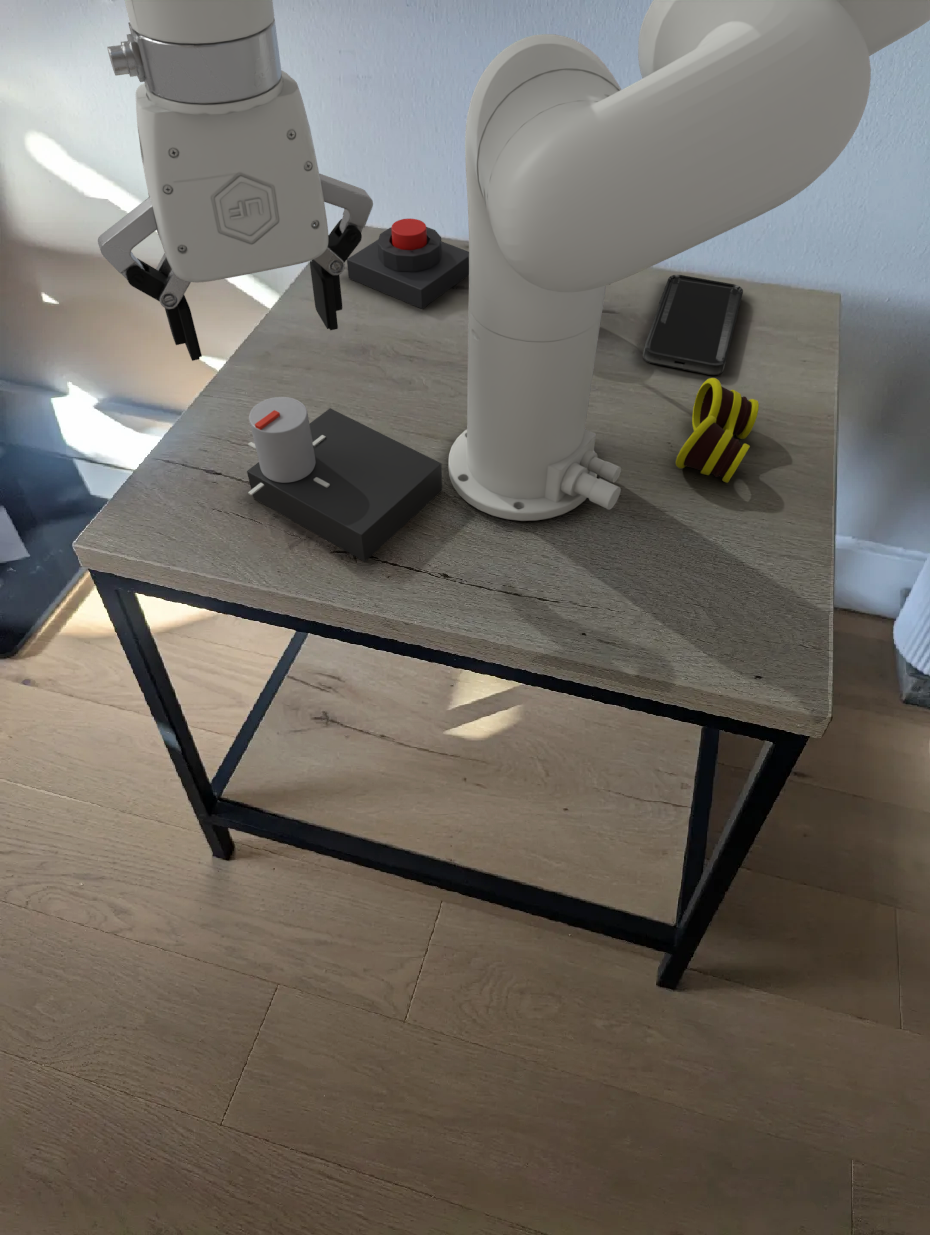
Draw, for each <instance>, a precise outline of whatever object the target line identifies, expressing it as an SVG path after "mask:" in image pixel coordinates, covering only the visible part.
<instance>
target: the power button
mask: <svg viewBox="0 0 930 1235" xmlns="http://www.w3.org/2000/svg"><path fill="white" fill-rule="evenodd" d="M426 227H427V225H426V223H425V222H424V221H422V220H421V219H418V218H401V219H398V220H396V221H394V222H393V223H392V224H391V227H390V228H391V229H392V244H393V246H394V247H396V248H399V249H401V250H415V249H420V248H423V247H424V246H426V244H427V231H426Z"/></svg>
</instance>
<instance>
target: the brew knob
mask: <svg viewBox="0 0 930 1235" xmlns="http://www.w3.org/2000/svg"><path fill="white" fill-rule="evenodd" d="M248 415H249V416H248V422H249V425H250V430H251V434H252V439H253V443H254V444H255V447H256V449H255V450H256V451H255V452H256V455H257V460H258V462H259V464H260V469H261V471H262V473H263V474H264V476H266V477H267V478H268V479H270V480H272V481H275V482H281V483H289V482H295V481H298V480H301V479H303V478H305V477H306V476H308V475H309V474H310V473H311V472H312V471H313V469H314V467H315V463H316V460H315V454H314V448H313V442H312V436H311V430H310V418H309V412H308V409H307V407H306V405H305V404H304V403H303V402H302V401H300V400H298V399H296V398H293V397H291V396H273V397H270V398H266V399H264V400H261V401H259V402H258V403H257V404H255V405H254V406H253V407H252V408H251V410H250V411H249V414H248Z"/></svg>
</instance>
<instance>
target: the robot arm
mask: <svg viewBox="0 0 930 1235" xmlns="http://www.w3.org/2000/svg"><path fill="white" fill-rule="evenodd" d="M124 4H125V8H126V13H127V18H128V27H129V32H130V33H128V34H126V39H127V40H126V41H120V44H118V45H111V46H107V52H108V57H109V60H110V64H111V67H112V71H113V73H114V76H125V75H129V77H130V78H133V77H134V78H135V77H137V79H138V81H139V83H142V84H139V86H138V87H137V88H136V90H135V111H136V112H135V113H136V122H137V124H136V125H137V126H136V127H137V133H138V139H139V140H138V141H139V148H140V155H141V156H140V157H141V162H142V168H143V173H144V179H145V184H146V190H147V195H148V197H146V198H145V200H143V201H142V202H140V204H138V205H137V206H136V207H135V208H133V209H132V210H131V211H129V212H128V213H127V214H125V215H124V216H123V217H121V218H120V219H119V220H117V222H115V223H114V224H113V225H111V226H110V227H109V228H107V230H105V231H104V232H103V233H101V234H100V235H99V236H98V238H97V245H98V248H99V251H100V253H101V255H102V256H103V258H104V259H106V261H108V262H109V264H110V265H111V266H112V267H114V269H115V270H116V271H117V272H118V273H119V274H120V275H122V276H123V277H124V278H125V279H126V280H127V283H128V284H129V285H130V286H131V287H133V289H136V290H138V291H140V292H141V293H143V294H145V295H147V296H149V297H151V298H152V299H153V300H156V301H158V302H159V303H160V305H161V307H162V308H164V310H165V314H166V318H167V321H168V325H169V329H170V333H171V336H172V338H173V342H174V344H175V346H180V345H184V344H185V347H186V350H187V353H188V354H189V357H190V360H191V361H192V362H194V361H198V360H200V358H202V356H203V355H202V351H201V346H200V343H199V338H198V335H197V331H196V327H195V323H194V319H193V315H192V312H191V308H190V305H189V303H188V300H187V298H186V295H185V293H186V292H187V290H188V288H189V287H190V285H191V283H197V284H198V283H209V282H214V281H220V280H225V279H230V278H231V279H232V278H236V277H241V276H246V275H251V274H257V273H262V272H267V271H271V270H277V269H281V268H286V267H287V268H288V267H291V266H292V267H293V266H296V265H300V264H301V265H302V264H304V263H309V269H310V276H311V284H312V285H311V286H312V293H313V299H314V300H313V301H314V308H315V311H316V312H317V314H318V316H319V318H320V319H321V321H322V323H323V324H324V326H325V328H326V330H329V331H335V330H338V328H339V325H338V324H339V323H338V316H337V312H338V311H342V310H343V299H342V298H343V297H342V288H341V278H340V275H341V274H342V273H344V271H345V268H346V264H345V263H346V262H347V259H348V258H350V257H351V256H352V253H353V252H354V251H355V250H356V249H357V247H358V245H359V244H361V241H362V238H363V235H362V233H363V230H364V229H365V227H366V225H367V222H368V220H369V217H370V215H371V212H372V210H373V207H374V200H373V199H372V198H371V196H370V194H369V193H368V192H367V191H366V190H365V189H364V188H361V187H358V186H355V185H353V184H351V183H347V182H344V181H342V180H339V179H337V178H333V177H331V176H328V175H325V174H322V173H320V170H319V165H318V160H317V154H316V150H315V149H316V148H315V145H314V141H313V135H312V131H311V127H310V122H309V119H308V115H307V111H306V107H305V104H304V101H303V100H304V99H303V97H302V94H301V90H300V88H299V84H298V82H297V80H295V79H294V78H293V77H291V75H289V73H287V72H285V71H284V70H282V64H281V58H280V50H279V42H278V35H277V34H278V33H277V26H276V19H275V10H274V2H273V0H124ZM929 21H930V0H652V1H651V3H650V5H649V7H648V9H647V11H646V13H645V15H644V17H643V19H642V23H641V25H640V30H639V34H638V43H637V44H638V45H637V58H638V59H637V60H638V67H639V71H640V74H641V79H638V80H637V81H635V82H634V83H631V84H629V85H628V86H626V87H624V88H621V86H620V84H619V83H618V81H617V80H616V77H615V76H614V75H613V73H612V72H611V70H610V69H609V68H608V66H607V65H606V63H604V61H603V60H602V59H601V58H600V57H599V56H598V55H597V54H596V53H595V52H594V51H593V50H591V49H589V47H587V46H586V45H584V44H583V43H581V42H579V41H577V40H576V39H574V38H571V37H568V36H565V35H560V34H554V33H540V34H533V35H530V36H525V37H523V38H521V39H519V40H516V41H514V42H512V43H511V44H509V45H508V46H507V47H505V48H503V50H501V51H500V52H499V53H497V55H496V56H495V57H494V58H493V59H492V60H491V61H490V62H489V64H488V65H487V66H486V68H484V70H483V72H482V73H481V75H480V77H479V79H478V81H477V83H476V85H475V87H474V90H473V92H472V95H471V98H470V101H469V106H468V110H467V113H466V114H467V115H466V121H465V122H466V123H465V130H464V131H465V133H464V162H465V180H466V181H465V183H466V198H467V199H466V200H467V202H466V203H467V219H468V220H467V221H468V252H469V275H468V306H467V307H468V308H467V311H468V312H467V313H468V314H467V315H468V316H467V319H468V320H467V393H466V394H467V395H466V396H467V401H466V402H467V403H466V404H467V405H466V406H467V407H466V408H467V409H466V410H467V412H466V429H465V430H463V432H462V433H460V435H459V436H458V437H457V438H456V439H455V440H454V442H453V443H452V445H451V447H450V451H449V454H448V463H447V464H448V466H447V467H448V478H449V480H450V482H451V485H452V487H453V488H454V490H455V491H456V492H457V494H458V496H460V497H461V498H462V499H463V500H464V501H465V502H467V503H468V504H469V505H471V506H472V507H474V508H475V509H477V510H478V511H479V512H480V511H481V512H483V513H485V514H488V515H491V516H493V517H497V518H501V519H504V520H511V521H520V522H526V521H540V520H549V519H552V518H556V517H558V516H562V515H565V514H566V513H568V512H570V511H572V510H574V509H576V508H577V507H578V506H580V505H581V504H583V502H585V501H586V500H587V499H588V500H589V502H592V503H594V504H596V505H598V506H600V507H602V508H604V509H606V510H612V509H613V508H614V506H615V505H616V503H617V502H618V500H619V498H620V496H621V487H620V486H618V485H616V484H614V483H616V482H617V481H618V479H619V477H620V475H621V473H622V467H621V466H619V465H617V464H615V463H612V462H610V461H608V460H603V459H601V458H600V457H598V453H597V452H596V451H595V445H596V438H597V433H596V432H593V431H591V430H588V429H587V428H586V425H587V418H588V411H589V404H590V399H591V398H590V396H591V390H592V384H593V375H594V370H595V362H596V356H597V348H598V342H599V334H600V327H601V321H602V314H603V310H604V302H605V295H606V290H607V286H609V285H612V284H614V283H618V282H619V281H622V280H624V279H627V278H629V277H631V276H633V275H636V274H638V273H641V272H642V271H644V270H647V269H649V268H651V267H653V266H655V265H658V264H659V263H662V262H664V261H666V260H669V259H670V258H673V257H675V256H677V255H679V254H681V253H685V252H686V251H688V250H691V249H692V248H694V247H696V246H699V245H701V244H703V243H705V242H708V241H709V240H711V239H714V238H715V237H718V236H720V235H722V234H724V233H727V232H728V231H731V230H733V229H735V228H737V227H739V226H742V225H743V224H745V223H747V222H748V223H749V222H750V221H752V220H754V219H756V218H758V217H760V216H762V215H764V214H766V213H768V212H770V211H772V210H774V209H776V208H778V207H780V206H781V205H783V204H785V203H786V202H788V201H790V200H791V199H793V198H794V197H796V196H797V195H798V194H800V193H801V192H803V191H804V190H805V189H807V188H808V187H809V186H811V185H812V184H813V183H814V182H815V181H816V180H817V179H818V178H819V177H820V176H822V175H823V174H824V173H825V172H826V171H827V170H828V169H829V167H831V165H832V164H833V163H834V162H835V161H836V160H838V157H839V156H840V155H841V154H842V152H843V151H845V149H846V147H847V145H849V142H850V141H851V139H852V138H853V136H854V134H855V132H856V130H857V129H858V127H859V124H860V123H861V120H862V118H863V116H864V113H865V109H866V107H867V104H868V100H869V99H868V98H869V94H870V87H871V79H872V78H871V77H872V76H871V74H872V69H871V60H870V56H872V55H874V54H876V53H877V52H879V51H881V50H883V49H884V48H886V47H888V46H890V45H892V44H894V43H895V42H897V41H899V40H900V39H902V38H904V37H906V36H907V35H909V34H911V33H912V32H914V31H915V30H918V29H919V28H920V27H922V26H923V25H925V24H927V23H928V22H929ZM326 203H327V204H329V205H331V206H335V207H338V208H340V209H343V212H342V218H340V220H338V222H337V223H336V224H335V226H334V227H333V229H332V230H331V231H330V233H329V225H328V218H327V211H326V205H325V204H326ZM155 232H156V233H157V235H158V237H159V240H160V243H161V246H162V248H163V255H162V257H161V259H160V260H159V263H158V264H157V266H156V268H155V267H154V266H152V265H150V264H148V263H146V262H145V261H143V260H141V259H139V258H137V257H136V256H135V254H134V253H133V252H132V250H133V249H134V248H135V247H137V246H138V245H139V244H140V243H141V242H143V241H144V240H145V239H146V238H148V237H150V236H151V235H152V234H153V233H155ZM598 476H599V478H597V477H598Z"/></svg>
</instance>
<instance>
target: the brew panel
mask: <svg viewBox="0 0 930 1235" xmlns="http://www.w3.org/2000/svg"><path fill="white" fill-rule="evenodd" d="M309 424H310V430H311V436H312V442H313V448H314V454H315V460H316V463H315V467H314V469H313V471H312V472H311V473H310V474H309V475H308V476H306V477H305V478H303V479H301V480H298V481H295V482H289V483H281V482H275V481H272V480H270V479H268V478H267V477H266V476H264V474H263V473H262V471H261V469H260V464H259V461H258V462H256V463H255V464H254V465H253V466H251V467H250V468H249V469H247V470H246V474H247V477H248V482H249V486H250V490H249V491H248V492H247V494H248V495H250V496H252V497H253V499H254V500H255V501H258V502H259V503H261V504H262V505H265V506H266V507H268V508H269V509H271V510H273V511H275V512H276V513H278V514H280V515H282V516H284V517H285V518H287V519H289V520H291V521H292V522H294V523H296V524H297V525H300V526H301V527H302V528H304V529H306V530H308V531H310V532H311V533H314V534H315V535H317V536H319V537H320V538H322V539H324V540H326V541H327V542H329V543H331V544H333V545H334V546H336V547H338V548H340V549H341V550H343V551H345V552H347V553H349V554H351V555H352V556H353V557H355V558H357V559H359V560H361V561H363V562H364V563H365V562H367V561H368V559H370V558H371V557H372V556H373V555H374V554H375V553H376V552H377V551H379V549H380V548H382V547H383V546H384V545H385V544H386V543H387V542H388V541H389V540H391V538H392V537H394V536H395V535H396V534H397V533H398V532H399V531H400V530H401V529H402V528H403V527H404V526H406V525H407V524H408V523H409V522H410V521H411V520H412V519H413V518H414V517H415V516H416V515H418V514H419V513H420V512H421V511H422V510H423V509H424V508H425V507H426V506H427V505H428V504H430V503H431V501H433V500H434V499H435V498H436V497H437V496H438V495H439V494H440V493H442V492H443V463H442V462H440V461H438V460H436V459H434V458H432V457H430V456H428V455H426V454H423V453H422V452H420V451H418V450H415V449H414V448H411V447H409V446H408V445H406V444H403V443H401V442H400V441H397V440H395V439H394V438H391V437H389V436H387V435H385V434H383V433H382V432H379V431H377V430H375V429H373V428H371V427H369V426H367V425H365V424H363V423H361V422H359V421H357V420H355V419H354V418H351V417H349V416H347V415H345V414H343V413H341V412H339V411H337V410H334V409H333V408H331V407H329V408H328V409H327V410H325V411H324V412H323V413H321V414H320V415H319V416H317V417H316V418H315V419H314V420H312V421H311V422H309ZM247 445H248V446H249V447H250V448H252V449H254V450H256V447H255V443H254V442H253V441H250V442H248V443H247Z"/></svg>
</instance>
